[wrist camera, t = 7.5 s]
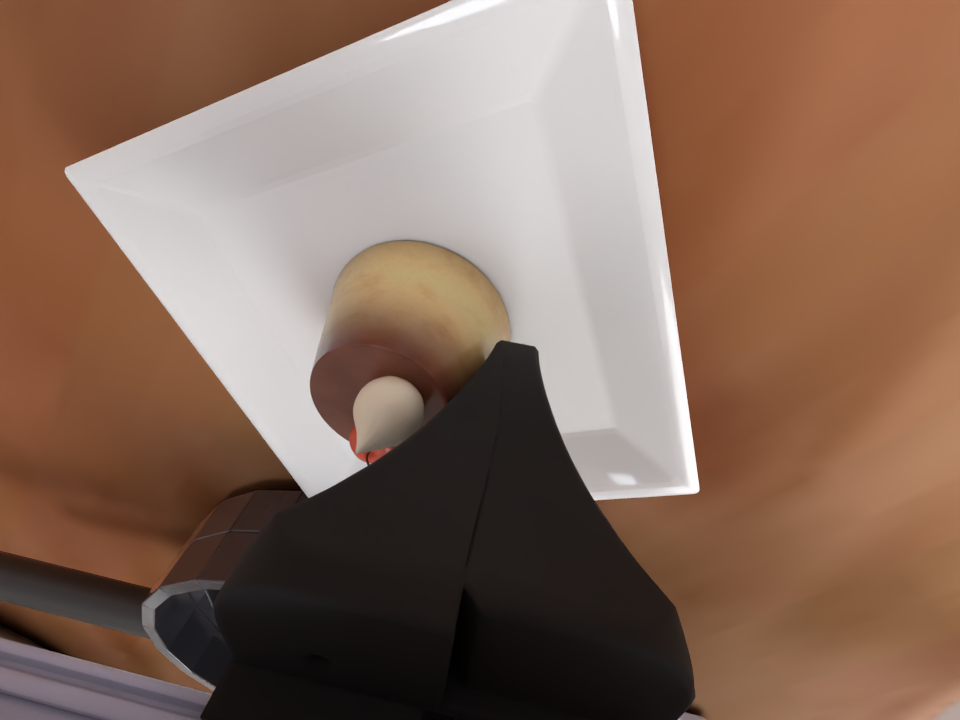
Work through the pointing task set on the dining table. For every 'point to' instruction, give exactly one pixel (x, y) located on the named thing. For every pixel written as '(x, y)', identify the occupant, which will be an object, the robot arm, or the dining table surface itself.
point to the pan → (206, 583)
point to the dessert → (423, 239)
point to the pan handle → (72, 593)
